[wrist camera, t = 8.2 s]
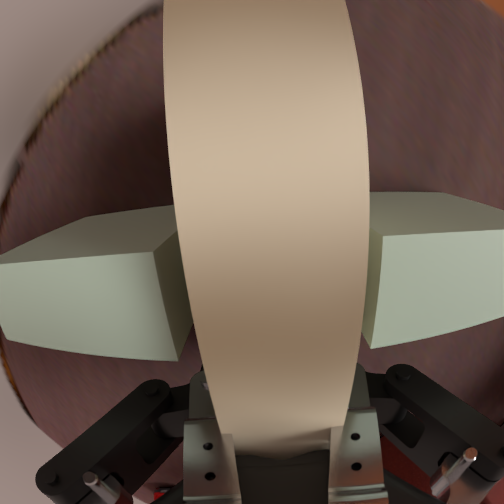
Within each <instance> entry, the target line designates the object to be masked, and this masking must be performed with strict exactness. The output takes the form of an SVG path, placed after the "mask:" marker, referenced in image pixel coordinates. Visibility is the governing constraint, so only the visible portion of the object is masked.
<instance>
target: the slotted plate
mask: <svg viewBox="0 0 504 504" xmlns="http://www.w3.org/2000/svg"><path fill="white" fill-rule="evenodd" d="M163 64H164V93H165V111H166V126H167V140H168V151H169V162H170V172H171V181H172V190H173V198H174V206H175V214H176V222H177V229H178V236H179V242H180V249H181V255H182V261H183V268H184V273H185V279H186V285H187V290H188V296H189V301H190V306H191V311H192V316H193V321H194V326H195V331H196V336H197V340H198V345H199V350H200V354H201V358H202V363H203V367H204V371H205V375H206V379H207V383H208V387H209V391H210V395H211V399H212V403H213V407H214V410H215V414H216V418H217V421H218V425H219V428H220V432H221V434H232V436H233V440H234V444H235V451H236V455H254V456H259V457H265V458H271V459H278V460H285V459H289V458H292V457H296V456H299V455H302V454H305V453H308V452H312V451H317V450H324V449H328V446H329V443H328V439H329V434H330V430H331V427H336V426H342V425H344V422H345V418H346V414H347V409H348V405H349V400H350V395H351V390H352V385H353V380H354V375H355V369H356V363H357V357H358V351H359V344H360V337H361V330H362V322H363V313H364V304H365V294H366V282H367V268H368V250H369V214H370V197H369V161H368V144H367V130H366V119H365V109H364V100H363V92H362V85H361V78H360V71H359V65H358V59H357V53H356V48H355V42H354V37H353V33H352V28H351V23H350V19H349V15H348V11H347V7H346V3H345V0H164V14H163Z"/></svg>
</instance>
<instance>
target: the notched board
mask: <svg viewBox="0 0 504 504" xmlns="http://www.w3.org/2000/svg"><path fill="white" fill-rule="evenodd" d="M369 197H370V214H369V250H368V268H367V282H366V294H365V304H364V313H363V322H362V330H361V332H362V333H363V335H364V337H365V339H366V341H367V343H368V345H369V347H370V349H372V348H378V347H384V346H390V345H395V344H400V343H405V342H410V341H415V340H420V339H424V338H428V337H433V336H437V335H441V334H445V333H449V332H453V331H457V330H460V329H464V328H468V327H471V326H474V325H478V324H481V323H484V322H488V321H491V320H494V319H497V318H500V317H503V316H504V210H501V209H498V208H495V207H491V206H488V205H485V204H482V203H478V202H475V201H471V200H468V199H464V198H461V197H457V196H453V195H449V194H446V193H442V192H369ZM193 322H194V321H193V316H192V311H191V306H190V301H189V296H188V290H187V285H186V279H185V273H184V268H183V261H182V255H181V249H180V242H179V236H178V229H177V222H176V214H175V206H174V205H168V206H160V207H152V208H144V209H137V210H129V211H122V212H115V213H109V214H102V215H96V216H90V217H84V218H82V219H79V220H77V221H75V222H72V223H70V224H67V225H65V226H63V227H60V228H58V229H55V230H53V231H51V232H49V233H46V234H44V235H42V236H40V237H37V238H35V239H33V240H31V241H29V242H27V243H24V244H22V245H20V246H18V247H16V248H14V249H12V250H10V251H8V252H6V253H4V254H2V255H0V325H1V327H2V330H3V332H4V334H5V337H6V339H7V340H11V341H16V342H20V343H25V344H30V345H35V346H40V347H45V348H51V349H57V350H63V351H69V352H76V353H83V354H91V355H99V356H108V357H118V358H130V359H143V360H161V361H179V358H180V356H181V353H182V350H183V348H184V345H185V343H186V340H187V337H188V335H189V332H190V330H191V327H192V325H193Z"/></svg>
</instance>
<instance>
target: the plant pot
mask: <svg viewBox="0 0 504 504" xmlns="http://www.w3.org/2000/svg"><path fill="white" fill-rule="evenodd" d="M415 417H416V416H415ZM416 418H417V419H419V418H418V417H416ZM419 420H420V419H419ZM420 421H421V420H420ZM421 422H422V421H421ZM422 423H423V422H422ZM380 444H381V454H382V464H383V468H384V469H386V470H388V471H389V472H391V473H392V474H394V475H396V476H397V477H399V478H401V479H402V480H404V481H406V482H408V483H409V484H411V485H413V486H415V487H416V488H418V489H420V490H422V491H424V492H425V493H427V494H429V495H431V496H433V497H435V498H437V497H436V496H434V495H433V494H432V493H431V487H430V479H431V477H429V476H428V475H427V474H426V473H425V472H424V471H423V470H421V469H420V468H419V467H418V466H417V465H416V464H415V463H414V462H412V461H411V460H410V459H409V458H408V457H407V456H406V455H405V454H404V453H403V452H401V451H400V450H399V449H398V448H397V447H396V446H395V445H394V444H393V443H392V442H391V441H389V440H388V439H387V438H386V437H385V436H383V437H382V438H380ZM480 504H504V477H503V478H502V479H501V480H500V481H499V482H498V483H497V484H496V485H495V486H494V487H492V489H491V490H490V491H489V492H488V494H487V495H486V496H485V498H484V499H483V500H482V501H481V502H480Z"/></svg>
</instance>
